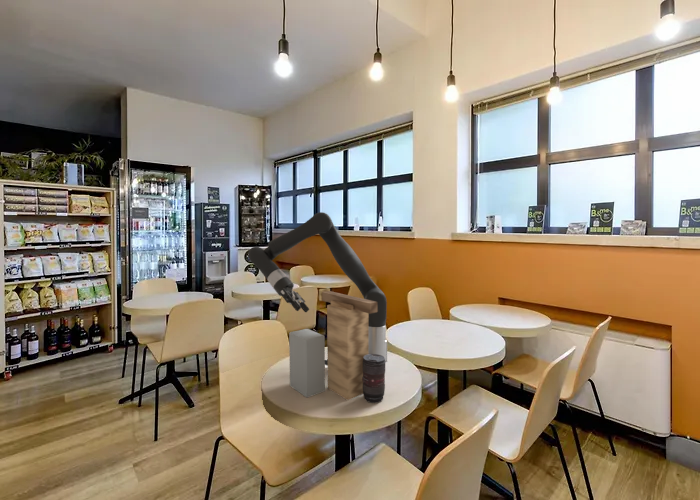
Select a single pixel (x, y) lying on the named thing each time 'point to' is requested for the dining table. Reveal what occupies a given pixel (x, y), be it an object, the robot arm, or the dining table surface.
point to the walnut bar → (348, 300)
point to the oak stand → (346, 348)
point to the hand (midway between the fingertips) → (303, 310)
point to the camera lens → (373, 377)
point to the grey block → (307, 362)
